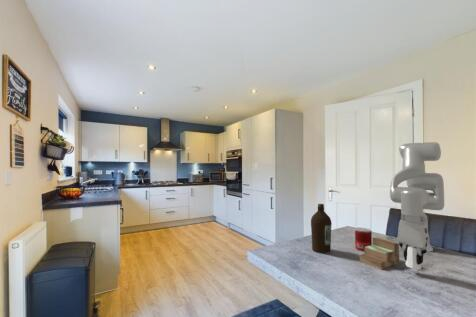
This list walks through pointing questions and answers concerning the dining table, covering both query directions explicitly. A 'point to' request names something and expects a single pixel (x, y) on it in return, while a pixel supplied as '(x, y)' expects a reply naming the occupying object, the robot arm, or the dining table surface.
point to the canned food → (363, 238)
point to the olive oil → (321, 231)
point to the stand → (381, 253)
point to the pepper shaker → (412, 258)
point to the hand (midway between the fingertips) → (413, 261)
